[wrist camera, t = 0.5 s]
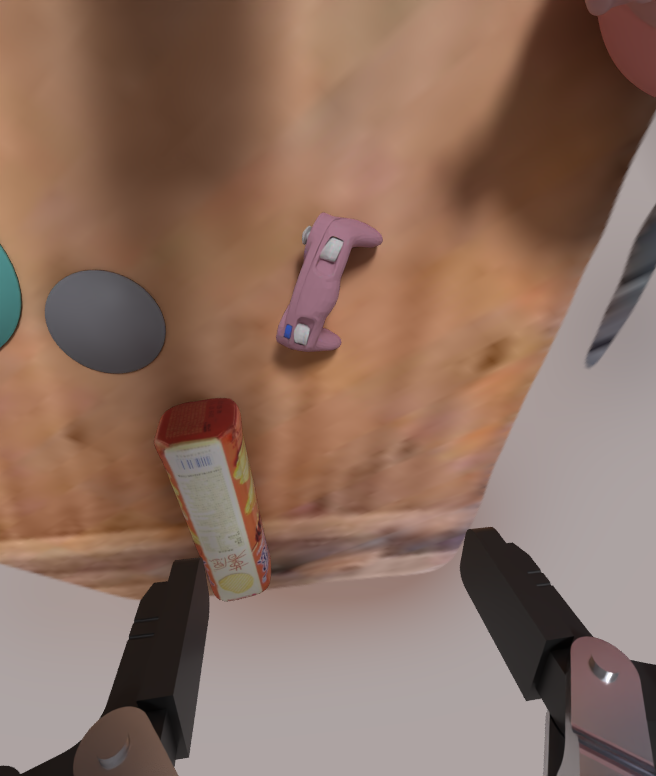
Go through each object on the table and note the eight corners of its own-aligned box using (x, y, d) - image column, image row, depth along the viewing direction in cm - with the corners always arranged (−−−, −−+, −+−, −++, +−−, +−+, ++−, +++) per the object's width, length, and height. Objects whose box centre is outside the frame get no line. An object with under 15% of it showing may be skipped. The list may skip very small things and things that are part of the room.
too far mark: (48, 254, 26) (47, 254, 26) (174, 289, 29) (173, 290, 29) (44, 358, 30) (43, 359, 30) (156, 382, 32) (156, 383, 32)
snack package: (272, 545, 45) (275, 603, 40) (213, 556, 45) (207, 616, 39) (240, 387, 34) (238, 435, 28) (161, 398, 33) (142, 449, 28)
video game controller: (332, 207, 29) (300, 201, 23) (388, 230, 29) (372, 231, 23) (291, 327, 34) (256, 349, 27) (340, 349, 33) (315, 377, 27)
